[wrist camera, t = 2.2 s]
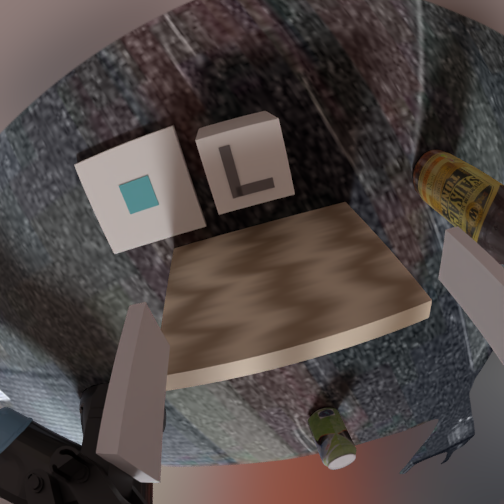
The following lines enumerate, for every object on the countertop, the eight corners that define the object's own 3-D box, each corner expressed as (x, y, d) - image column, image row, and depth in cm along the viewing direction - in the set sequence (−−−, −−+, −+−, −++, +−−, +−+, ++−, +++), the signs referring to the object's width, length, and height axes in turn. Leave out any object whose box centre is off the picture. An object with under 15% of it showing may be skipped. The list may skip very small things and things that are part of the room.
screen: (194, 295, 35) (192, 422, 21) (174, 248, 32) (154, 377, 18) (350, 252, 34) (419, 359, 21) (345, 201, 31) (432, 300, 17)
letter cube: (217, 188, 29) (218, 215, 24) (198, 128, 26) (195, 140, 21) (280, 171, 29) (296, 194, 24) (266, 110, 26) (280, 118, 21)
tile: (116, 250, 31) (114, 254, 30) (77, 162, 26) (73, 165, 25) (206, 222, 31) (206, 226, 30) (173, 124, 25) (172, 126, 25)
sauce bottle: (417, 141, 28) (569, 228, 11) (456, 154, 29) (591, 237, 12) (402, 197, 32) (528, 313, 15) (441, 205, 33) (557, 307, 16)
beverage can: (302, 422, 54) (316, 476, 43) (313, 402, 50) (330, 461, 40) (332, 419, 55) (348, 470, 44) (345, 399, 51) (364, 454, 41)
